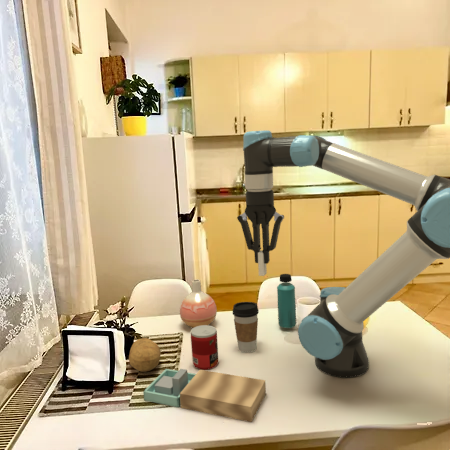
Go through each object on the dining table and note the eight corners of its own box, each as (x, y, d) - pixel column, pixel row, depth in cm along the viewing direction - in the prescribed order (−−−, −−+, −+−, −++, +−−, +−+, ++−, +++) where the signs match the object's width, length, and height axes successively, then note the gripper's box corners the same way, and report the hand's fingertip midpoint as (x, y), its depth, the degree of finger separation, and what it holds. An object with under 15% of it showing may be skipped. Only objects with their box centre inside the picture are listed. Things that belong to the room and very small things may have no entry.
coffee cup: (252, 356, 130) (250, 311, 127) (229, 351, 134) (227, 307, 131) (264, 345, 137) (262, 302, 134) (242, 340, 141) (240, 298, 138)
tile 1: (163, 375, 117) (164, 382, 117) (154, 385, 112) (155, 392, 112) (179, 378, 115) (180, 385, 115) (170, 388, 110) (171, 395, 110)
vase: (180, 320, 161) (177, 276, 158) (215, 316, 162) (213, 273, 159) (181, 335, 148) (177, 288, 144) (219, 331, 149) (216, 284, 146)
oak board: (265, 394, 110) (265, 380, 109) (251, 422, 99) (251, 407, 98) (200, 382, 117) (199, 369, 116) (180, 407, 106) (179, 393, 105)
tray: (199, 382, 117) (198, 374, 116) (179, 407, 106) (178, 398, 106) (166, 376, 121) (165, 368, 120) (144, 400, 110) (143, 391, 109)
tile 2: (187, 369, 113) (180, 368, 114) (178, 379, 109) (171, 378, 109) (188, 386, 114) (182, 385, 115) (180, 396, 110) (173, 395, 110)
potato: (157, 353, 135) (155, 330, 134) (166, 374, 122) (164, 349, 121) (126, 360, 132) (124, 336, 130) (132, 382, 119) (129, 356, 117)
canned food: (215, 371, 122) (213, 336, 120) (189, 369, 124) (187, 335, 122) (221, 358, 130) (219, 325, 128) (196, 357, 131) (194, 324, 129)
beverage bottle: (298, 332, 145) (296, 277, 142) (279, 332, 145) (277, 278, 142) (295, 324, 152) (293, 271, 148) (277, 325, 152) (275, 272, 148)
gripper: (286, 187, 112) (288, 271, 116) (241, 188, 117) (245, 269, 121) (279, 191, 105) (282, 280, 110) (231, 191, 110) (236, 276, 115)
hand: (262, 274), depth 115 cm, fingers closed
